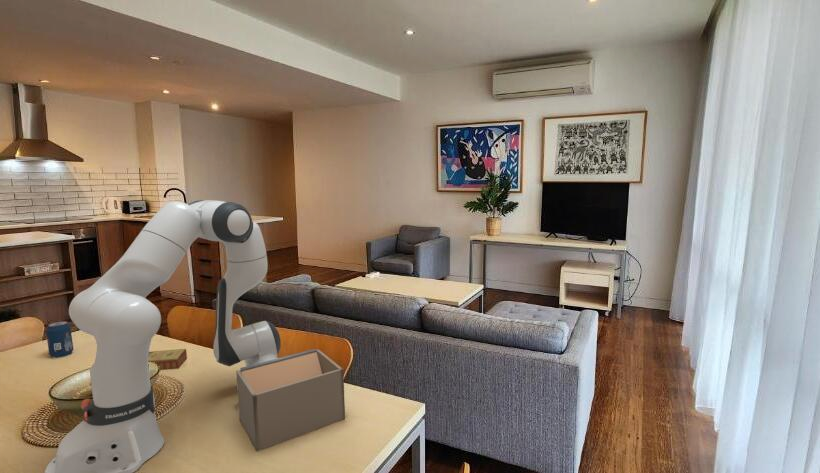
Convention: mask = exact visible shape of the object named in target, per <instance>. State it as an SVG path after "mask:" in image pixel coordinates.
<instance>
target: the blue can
mask: <svg viewBox="0 0 820 473" xmlns="http://www.w3.org/2000/svg"><path fill="white" fill-rule="evenodd" d="M71 329H72V328H71V325H70V324H69V322H68V321H67V320H59V321H54V322H51V323H49V324H47V326H46V329H45V332H46V340H47V347H48V349H47V350H48V355H49V356H50V357H51V358H54V359H58V358H59V359H60V358H64V357H67V356H69V355H71V354H72V353H73V351H74V342H73V336H72V335H73V334H72V330H71Z"/></svg>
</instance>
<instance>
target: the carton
mask: <svg viewBox="0 0 820 473" xmlns="http://www.w3.org/2000/svg"><path fill="white" fill-rule="evenodd" d="M187 356H188V354H187V349H186V348H178V349H170V350H169V349H168V350H155V351H154V350H153V351H152V350H151V351H149V356H148V361H151V362H155V363H157V364H158V365H159V366H160V370H159V371H165V370H167V371H168V370H179V368H181V367H182V365H183V364H184V363H185V362H186V361H187V358H188V357H187Z"/></svg>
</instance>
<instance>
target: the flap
mask: <svg viewBox="0 0 820 473" xmlns="http://www.w3.org/2000/svg"><path fill="white" fill-rule="evenodd" d="M316 350H317V349H316V348H313V349H309V350H305V351H301V352H298V353H297V352H296V353H294V354H289V355H285V356H281V357H277V359H273V360H269V361H266V362H262V363H258V364H254V365H250V366H246V365H245V366H243V367H240V368H239V370H240V372H241V373H242V375H243V376H244V377H245V379H246V380H247V382H248V383H249V385H250V386H251V388H252V389H253V390H254V392H255V393H260V392H263V391H266V390H270V389H273V388H277V387H280V386H283V385H287V384H290V383H294V382H297V381H300V380H304V379H307V378H310V377H314V376H317V375H321V374H322V371H321V367H320V363H319V359H318V356H317V351H316Z"/></svg>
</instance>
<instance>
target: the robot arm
mask: <svg viewBox="0 0 820 473" xmlns="http://www.w3.org/2000/svg"><path fill="white" fill-rule="evenodd" d="M197 239H203V240H208V241H212V242H222V243H223V246H224V247H225V255H226V263H227V264H226V266H227V267H226V271H225V274H224V276H223V278H221V279H220V280H219V281H218V283H217V289H216V299H215V303H216V304H215V326H214V328H215V331H214V337H213V338H214V339H213V347H212V348H213V349H212V350H213V356H214V359H215V360H216V362H217V363H218V364H221V365H223V366H226V367H232V366H234V365H236V364H239V363H241V362H243V361H244V364H245V367H246V366H250V365H254V364H258V363H262V362H266V361H269V360H273V359H277V358H278V355H279V353H280V352H281V348H282V346H281V344H282V341H281V336H280V333H279V331H278V329H277V327H276V326H275V325H274V324H273V323H272V322H269V321H268V320H262V321H259V322H254V323H251V324H248V325H245V326H242V327H238V328H236V329H235V328H233V327H232V325H233V324H232V323H233V308H234V305H235V303H236V301H237V300H238V299H239V298H240V297H241V296H243V295H244V294H246V293H247V292H248V291H250V290H252V289H253V288H255V287H256V286H258V285H259V284H260V283H261V282H262V281H263V280H264V278H265V277H266V275H267V273H268V270H269V269H268V267H269V264H268V255H267V249H266V244H265V240H264V236H263V234H262V230H261V228H260V225H259V224H258V223H256V222H255V221H253V218H252V216H251V214H250V212H249V210H248V208H246V207H245V206H243V205H242V204H240V203H237V202H233V201H222V200H219V199H218V200H217V199H207V200H201V199H200V200H195V201H192V202H189V203H186V202H183V201H171V202H167V203H166V204H164V205H163V206H162V207H161V208H160V209H159V210H158V211H157V212H156V213H155V214H154V215H153V216H152V217H151V218H150V220H149V221H148V222H147V223H146V224H145V225H144V227H143V228H142V229H141V231H140V232H139V233H138V235H137V236H136V237H135V239H134V241H133V242H132V243H131V244H130V246H129V247H128V248H127V250H126V251H125V252H124V254H123V255H122V256H121V257H120V258H119V259H118V261H116V263H115V264H114V265H112V267H111V268H110V269H109V270H107V271H106V272H105V273H104V274H103V275H102V276H101V277H100V278H98V279H97V280H96V281H95V282H94V283H93V284H92V285H91V286H90V287H88V288H87V289H85V290H83V291H80V292H79V293H78V294H76V296H74V297H73V299H72V300H71V301H70V304H69V307H68V316H69V318H70V320H71V322H72V323H73V324H74V325H75V326H76V328H77V329H79V330H80V331H81V332H83V333H86V334H88V335H90V336H93V337H94V339H95V341H96V354H95V358H94V362H93V364H92V365H91V367H90V370H89V376H90V378H89V379H90V383H91V385H90V387H92V388H91V394H92V399H91V398H85V399H83V400H82V402H81V405H80V406H81V409H82V416H83V420H81V422H80V423H79V424H77V425H76V426H75V427H74V428H72V430H71V431H69V432H68V433H67V434H65V435H64V436H63V438H61V441H60V442H59V445H58V447H57V450H56V453H55V456H54V458H53V459H51V461H49V463H48V464H47V466H46V467H45V470H44V473H135V472H136V471H138V469H139V468H141V466H142V465H143V464H144V463H145V462H147V461H148V460H149V459H151V458H152V457H154V456H155V455H156V454H158V452H159V451H160V450H161V449H162V447H163V446H164V443H165V439H164V436H163V435H162V432H161V431H160V427H159V424H158V421H157V418H156V414H155V411H156V401H155V400H156V399H155V392H154V388H153V387H152V386H151V379H150V378H151V377H150V376H151V375H150V371H149V364H148V356H149V352H150V347H151V343H152V339H153V338H154V336H156V334H157V333H158V332H159V329H160V327H161V323H162V316H161V312H160V310H159V308H158V307H157V306H156V305H155V304H154V303H152V302H151V301H150V300H149V299H147V296H149V295H150V294H151V293H152V292H153V291H154V290H156V289H157V288H158V287H159V286H162V285H164V284H166V283H167V282H168V281H169V279H170V278H171V277H172V275H173V274H174V272H175V271H176V269H177V268H178V267H179V265H180V264H181V262H182V260H183V258H184V257H185V255H187V252H188V251H189V249H190V248H191V246H192V245H193V243H194V242H195V241H196V240H197ZM235 388H236V389H237V385H236V387H235Z"/></svg>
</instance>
